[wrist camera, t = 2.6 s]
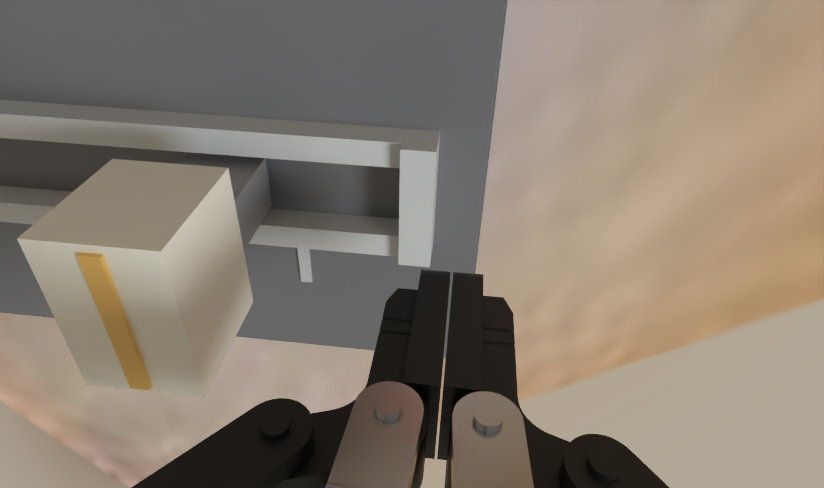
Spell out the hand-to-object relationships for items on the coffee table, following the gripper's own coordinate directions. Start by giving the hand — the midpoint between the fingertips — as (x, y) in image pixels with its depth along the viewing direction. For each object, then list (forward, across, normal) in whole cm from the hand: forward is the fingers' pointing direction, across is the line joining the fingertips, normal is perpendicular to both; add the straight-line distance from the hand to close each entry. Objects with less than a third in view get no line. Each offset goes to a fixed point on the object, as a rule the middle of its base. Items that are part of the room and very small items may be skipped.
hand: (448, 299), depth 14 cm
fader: (+5, +7, 0) cm, 8 cm away
